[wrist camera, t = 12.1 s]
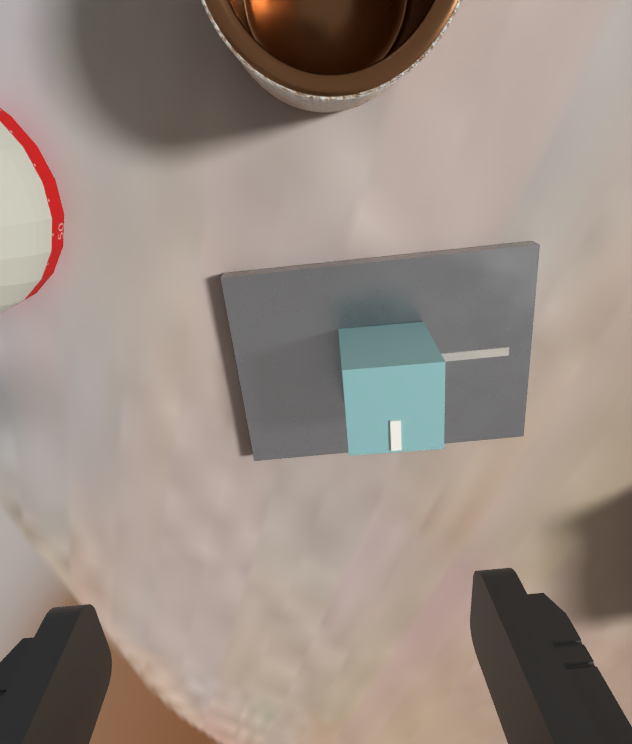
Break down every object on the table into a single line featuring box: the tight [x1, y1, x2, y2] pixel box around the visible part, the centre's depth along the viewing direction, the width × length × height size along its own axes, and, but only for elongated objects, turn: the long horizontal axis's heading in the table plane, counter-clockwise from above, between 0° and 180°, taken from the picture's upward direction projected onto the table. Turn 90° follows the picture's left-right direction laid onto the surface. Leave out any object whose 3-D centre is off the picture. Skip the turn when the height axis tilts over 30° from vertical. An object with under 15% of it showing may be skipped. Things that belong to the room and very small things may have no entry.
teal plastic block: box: [338, 322, 445, 456], centre depth 31 cm, size 6×6×7 cm
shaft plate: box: [221, 241, 540, 461], centre depth 33 cm, size 20×14×6 cm
